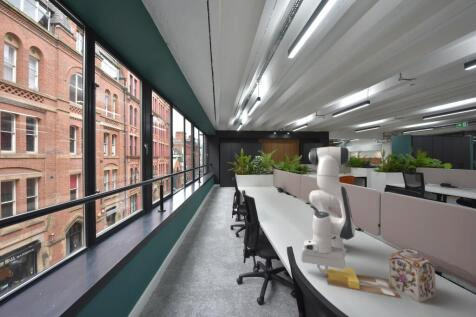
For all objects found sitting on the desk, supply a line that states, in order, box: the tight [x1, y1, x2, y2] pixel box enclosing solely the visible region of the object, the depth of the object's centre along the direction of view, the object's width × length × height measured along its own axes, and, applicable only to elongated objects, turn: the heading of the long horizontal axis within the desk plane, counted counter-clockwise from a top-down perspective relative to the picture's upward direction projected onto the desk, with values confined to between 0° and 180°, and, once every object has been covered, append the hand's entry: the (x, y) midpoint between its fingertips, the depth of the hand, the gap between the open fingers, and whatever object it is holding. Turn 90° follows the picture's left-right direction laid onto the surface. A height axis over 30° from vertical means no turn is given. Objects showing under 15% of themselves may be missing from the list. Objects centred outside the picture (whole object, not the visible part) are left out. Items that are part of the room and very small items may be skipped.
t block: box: [327, 266, 360, 289], centre depth 93 cm, size 12×12×3 cm
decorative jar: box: [388, 248, 437, 304], centre depth 86 cm, size 12×12×18 cm
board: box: [325, 269, 403, 300], centre depth 90 cm, size 14×28×1 cm, turn 71°
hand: (322, 273), depth 96 cm, fingers closed
